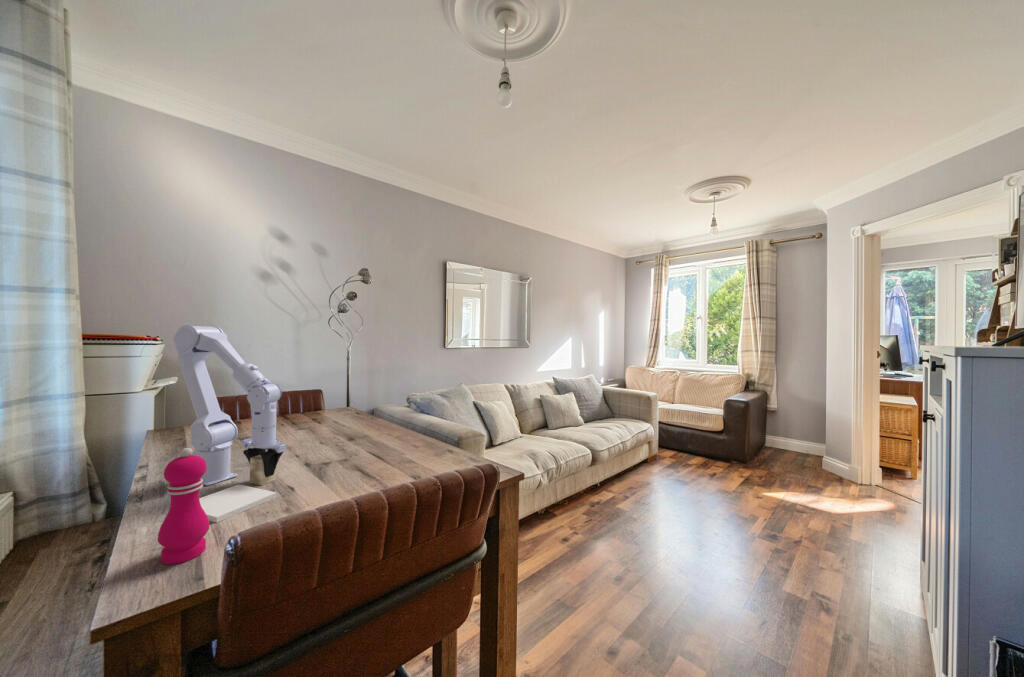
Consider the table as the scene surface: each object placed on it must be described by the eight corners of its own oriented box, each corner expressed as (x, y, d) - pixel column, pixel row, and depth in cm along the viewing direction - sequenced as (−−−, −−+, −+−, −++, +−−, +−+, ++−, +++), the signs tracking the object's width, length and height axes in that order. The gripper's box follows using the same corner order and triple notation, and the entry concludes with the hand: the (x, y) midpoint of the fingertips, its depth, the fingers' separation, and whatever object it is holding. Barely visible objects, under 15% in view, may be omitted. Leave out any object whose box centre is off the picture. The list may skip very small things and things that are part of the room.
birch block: (249, 483, 102) (250, 457, 102) (264, 477, 107) (265, 453, 107) (261, 485, 101) (261, 459, 101) (276, 479, 105) (276, 455, 105)
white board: (176, 511, 85) (176, 506, 85) (238, 488, 98) (238, 484, 98) (216, 522, 81) (217, 517, 81) (276, 497, 94) (276, 492, 94)
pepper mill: (164, 571, 64) (167, 456, 64) (151, 557, 68) (153, 449, 68) (215, 551, 70) (217, 446, 70) (200, 539, 74) (202, 440, 74)
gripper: (231, 427, 102) (230, 475, 102) (269, 432, 98) (268, 483, 98) (256, 421, 109) (255, 467, 109) (292, 426, 104) (291, 474, 104)
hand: (263, 474), depth 104 cm, fingers closed on birch block, 4 cm apart
